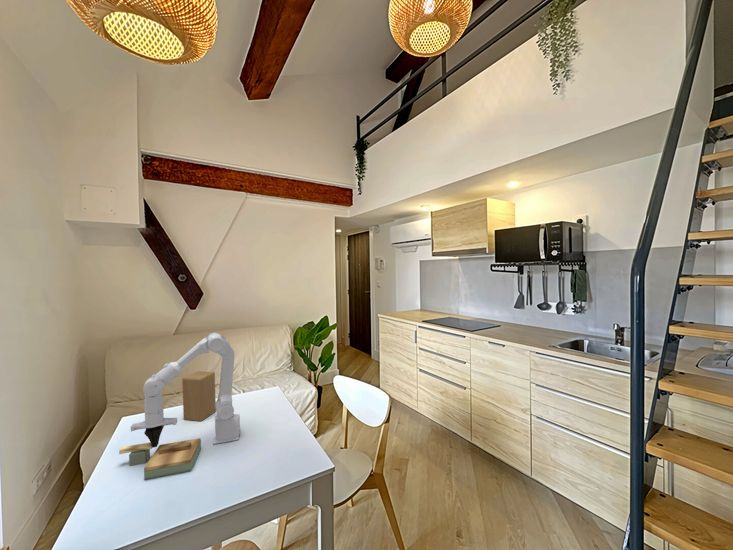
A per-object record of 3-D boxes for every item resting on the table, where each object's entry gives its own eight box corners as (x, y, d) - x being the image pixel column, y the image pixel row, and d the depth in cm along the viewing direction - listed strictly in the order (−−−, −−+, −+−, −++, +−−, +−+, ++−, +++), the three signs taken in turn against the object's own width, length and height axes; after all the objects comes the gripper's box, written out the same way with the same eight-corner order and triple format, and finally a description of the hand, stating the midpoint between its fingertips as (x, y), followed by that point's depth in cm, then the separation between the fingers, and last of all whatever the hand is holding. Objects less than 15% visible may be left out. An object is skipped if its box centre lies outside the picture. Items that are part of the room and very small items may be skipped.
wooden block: (199, 410, 150) (197, 370, 150) (216, 411, 148) (215, 371, 148) (183, 420, 140) (181, 378, 140) (201, 421, 138) (200, 379, 138)
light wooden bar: (153, 445, 112) (153, 441, 112) (151, 448, 110) (151, 444, 110) (122, 450, 109) (121, 446, 109) (119, 454, 107) (119, 450, 107)
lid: (200, 440, 117) (200, 434, 117) (190, 462, 104) (190, 455, 104) (159, 447, 113) (159, 440, 113) (144, 471, 100) (143, 463, 100)
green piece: (201, 448, 117) (200, 440, 117) (191, 471, 104) (190, 462, 104) (160, 455, 113) (159, 447, 113) (144, 480, 100) (144, 471, 100)
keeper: (150, 456, 113) (149, 446, 113) (145, 462, 109) (145, 452, 109) (134, 459, 111) (134, 448, 111) (129, 465, 107) (129, 455, 107)
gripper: (179, 402, 117) (180, 436, 117) (136, 408, 113) (137, 443, 113) (173, 410, 110) (174, 446, 111) (127, 417, 106) (128, 454, 106)
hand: (155, 445), depth 111 cm, fingers closed
